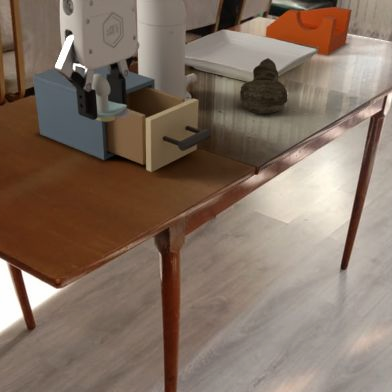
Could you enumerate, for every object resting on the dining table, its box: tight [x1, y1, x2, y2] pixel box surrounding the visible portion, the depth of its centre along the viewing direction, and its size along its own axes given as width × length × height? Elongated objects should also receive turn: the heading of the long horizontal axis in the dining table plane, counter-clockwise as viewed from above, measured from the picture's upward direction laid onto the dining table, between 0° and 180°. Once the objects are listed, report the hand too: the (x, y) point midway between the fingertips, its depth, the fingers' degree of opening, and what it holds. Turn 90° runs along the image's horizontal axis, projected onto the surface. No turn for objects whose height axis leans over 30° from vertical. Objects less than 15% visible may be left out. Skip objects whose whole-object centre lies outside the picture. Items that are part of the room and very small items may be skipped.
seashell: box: [239, 58, 289, 115], centre depth 128 cm, size 11×12×10 cm
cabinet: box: [32, 63, 155, 161], centre depth 114 cm, size 17×14×11 cm
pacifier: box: [92, 74, 130, 121], centre depth 88 cm, size 7×6×6 cm
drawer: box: [105, 87, 212, 173], centre depth 108 cm, size 20×12×9 cm, turn 52°
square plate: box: [185, 29, 318, 83], centre depth 151 cm, size 27×27×4 cm
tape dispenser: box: [265, 6, 352, 56], centre depth 166 cm, size 18×13×8 cm
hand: (102, 109), depth 89 cm, fingers closed on pacifier, 5 cm apart
